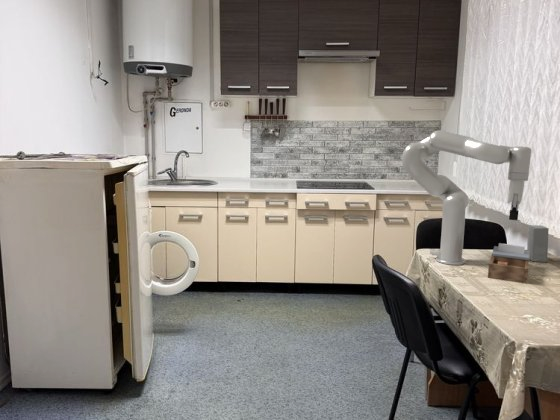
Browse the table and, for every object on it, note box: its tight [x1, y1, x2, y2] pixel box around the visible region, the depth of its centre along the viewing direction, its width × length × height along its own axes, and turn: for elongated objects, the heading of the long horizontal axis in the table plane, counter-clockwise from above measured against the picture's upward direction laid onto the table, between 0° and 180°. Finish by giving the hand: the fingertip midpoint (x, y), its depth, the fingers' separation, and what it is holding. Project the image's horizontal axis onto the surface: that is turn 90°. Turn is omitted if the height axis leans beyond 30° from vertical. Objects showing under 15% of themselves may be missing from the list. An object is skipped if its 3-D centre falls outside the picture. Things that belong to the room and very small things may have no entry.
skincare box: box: [526, 224, 550, 263], centre depth 209 cm, size 8×7×16 cm
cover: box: [491, 242, 530, 261], centre depth 195 cm, size 14×14×4 cm
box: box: [487, 255, 530, 284], centre depth 185 cm, size 14×14×6 cm
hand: (513, 219), depth 191 cm, fingers closed
